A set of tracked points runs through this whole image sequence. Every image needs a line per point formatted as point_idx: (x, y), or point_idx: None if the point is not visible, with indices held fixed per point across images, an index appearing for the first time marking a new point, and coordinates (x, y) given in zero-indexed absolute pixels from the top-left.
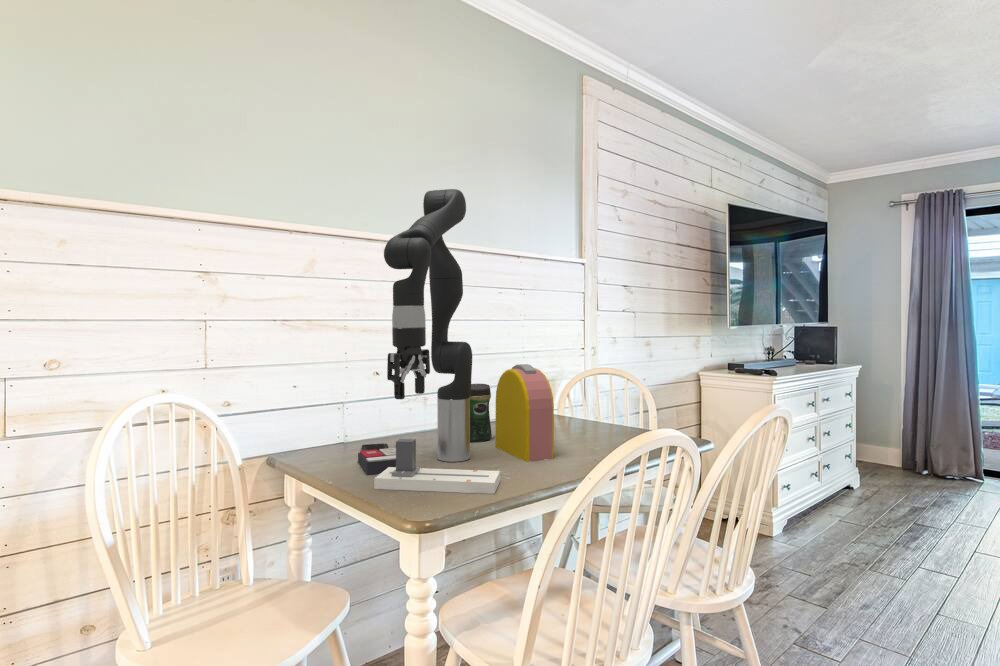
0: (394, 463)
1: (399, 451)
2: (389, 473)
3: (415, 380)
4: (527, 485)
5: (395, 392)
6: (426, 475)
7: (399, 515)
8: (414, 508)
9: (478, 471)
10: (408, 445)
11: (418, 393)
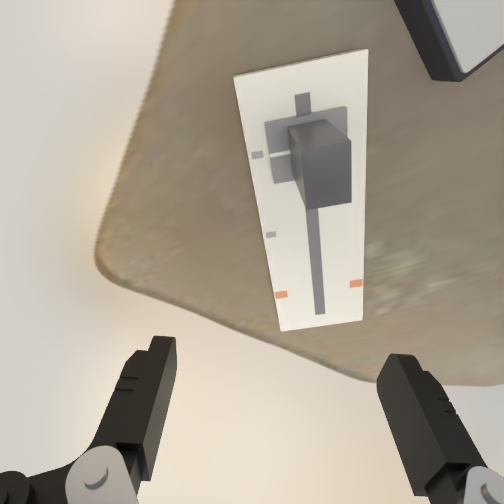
0: (429, 36)
1: (296, 153)
2: (294, 96)
3: (433, 440)
4: (338, 343)
5: (120, 382)
6: (298, 204)
7: (107, 226)
8: (153, 233)
9: (353, 289)
10: (303, 192)
11: (385, 365)
